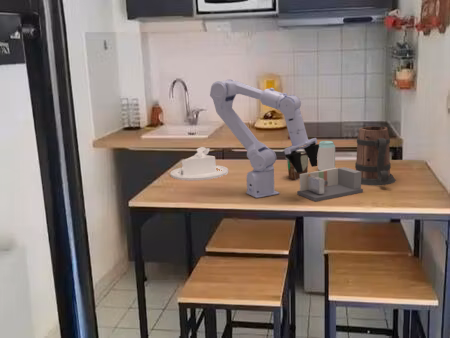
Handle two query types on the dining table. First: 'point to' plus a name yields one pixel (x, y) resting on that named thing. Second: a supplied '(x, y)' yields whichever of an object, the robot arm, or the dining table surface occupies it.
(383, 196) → the dining table surface
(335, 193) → the base
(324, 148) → the can
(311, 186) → the grey rectangular block
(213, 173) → the dish
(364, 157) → the tankard
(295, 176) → the food container
